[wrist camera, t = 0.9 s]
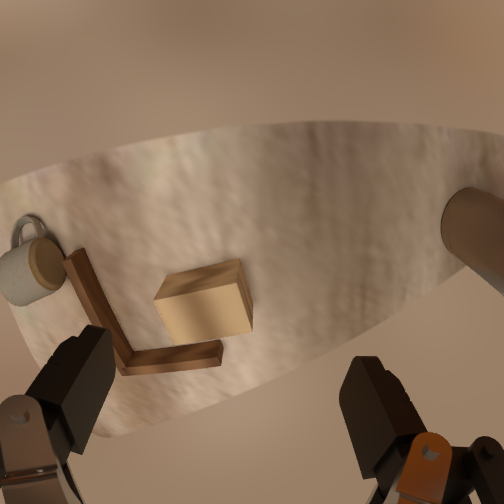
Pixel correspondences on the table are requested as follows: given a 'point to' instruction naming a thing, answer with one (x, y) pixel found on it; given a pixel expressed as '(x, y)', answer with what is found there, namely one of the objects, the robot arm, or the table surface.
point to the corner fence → (123, 353)
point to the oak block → (206, 303)
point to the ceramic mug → (30, 266)
